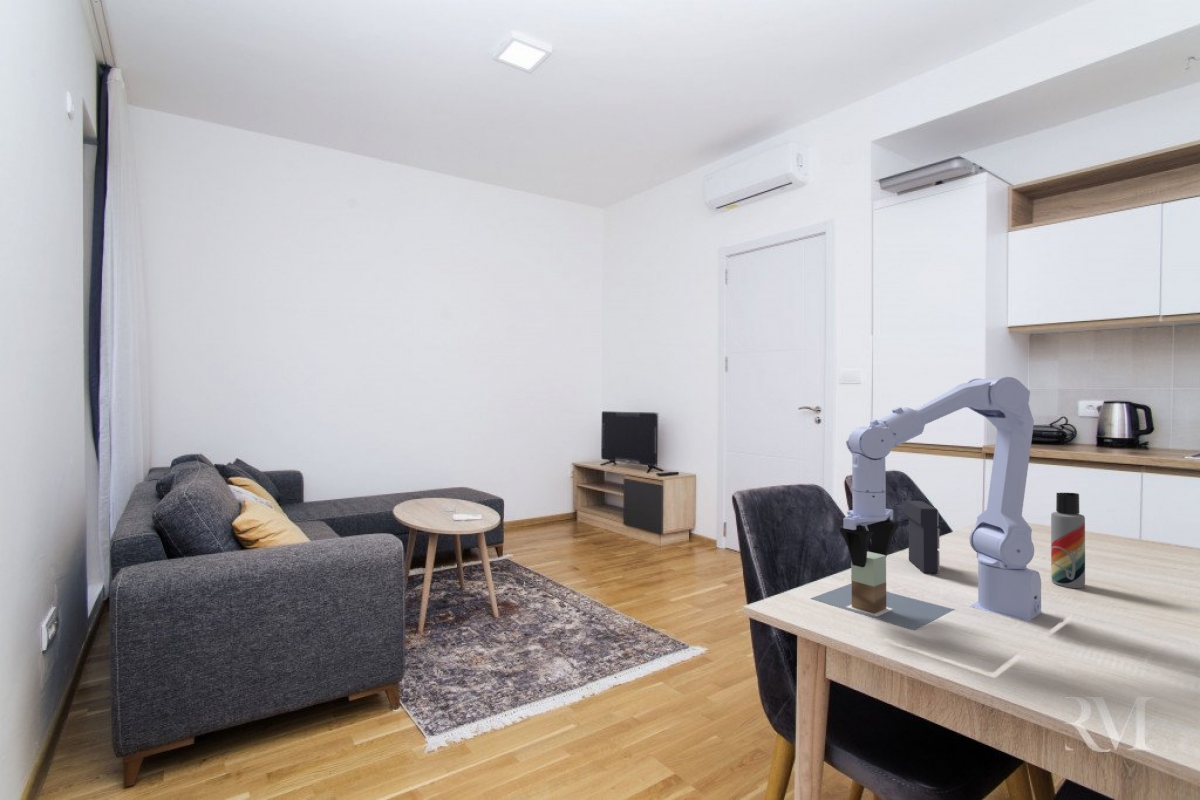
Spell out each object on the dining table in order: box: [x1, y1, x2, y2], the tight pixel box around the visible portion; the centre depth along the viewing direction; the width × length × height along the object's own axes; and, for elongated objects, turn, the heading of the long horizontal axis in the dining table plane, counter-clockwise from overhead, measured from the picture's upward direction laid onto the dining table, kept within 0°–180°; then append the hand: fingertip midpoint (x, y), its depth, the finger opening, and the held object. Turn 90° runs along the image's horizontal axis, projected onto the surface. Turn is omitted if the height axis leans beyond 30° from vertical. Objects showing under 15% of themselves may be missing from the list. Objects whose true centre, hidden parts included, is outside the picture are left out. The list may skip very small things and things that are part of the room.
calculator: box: [905, 500, 941, 575], centre depth 138 cm, size 11×4×15 cm, turn 168°
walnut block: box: [851, 581, 887, 614], centre depth 110 cm, size 4×4×5 cm
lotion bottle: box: [1050, 492, 1086, 589], centre depth 125 cm, size 6×6×20 cm
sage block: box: [850, 550, 887, 586], centre depth 110 cm, size 4×4×5 cm
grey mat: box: [809, 582, 955, 631], centre depth 112 cm, size 20×16×1 cm
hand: (869, 562), depth 110 cm, fingers open, 7 cm apart
